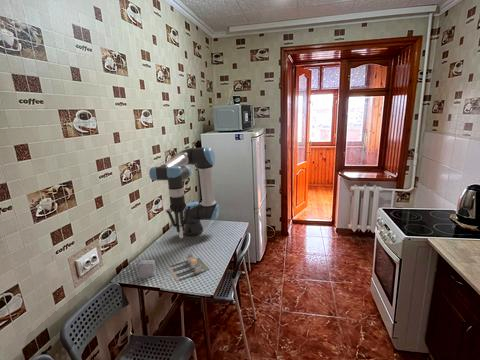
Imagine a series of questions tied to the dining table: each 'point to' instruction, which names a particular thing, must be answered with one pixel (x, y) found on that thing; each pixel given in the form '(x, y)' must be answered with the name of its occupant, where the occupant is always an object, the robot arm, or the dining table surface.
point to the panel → (176, 276)
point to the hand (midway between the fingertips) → (181, 237)
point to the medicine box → (147, 268)
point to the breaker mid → (193, 262)
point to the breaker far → (190, 258)
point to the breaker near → (198, 268)
